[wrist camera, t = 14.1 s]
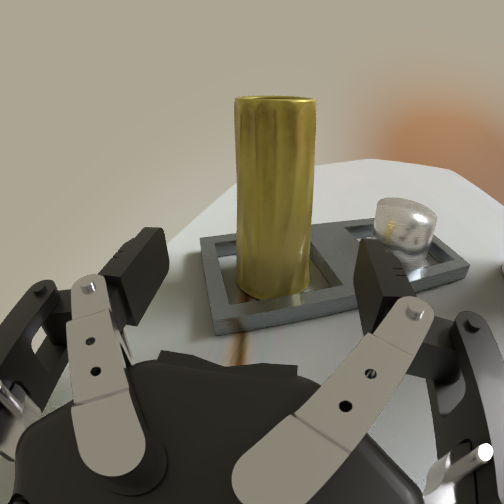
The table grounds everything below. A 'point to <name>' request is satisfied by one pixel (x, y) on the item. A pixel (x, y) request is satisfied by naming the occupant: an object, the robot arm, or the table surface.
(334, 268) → the grey rectangular frame
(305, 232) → the vase
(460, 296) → the table surface
